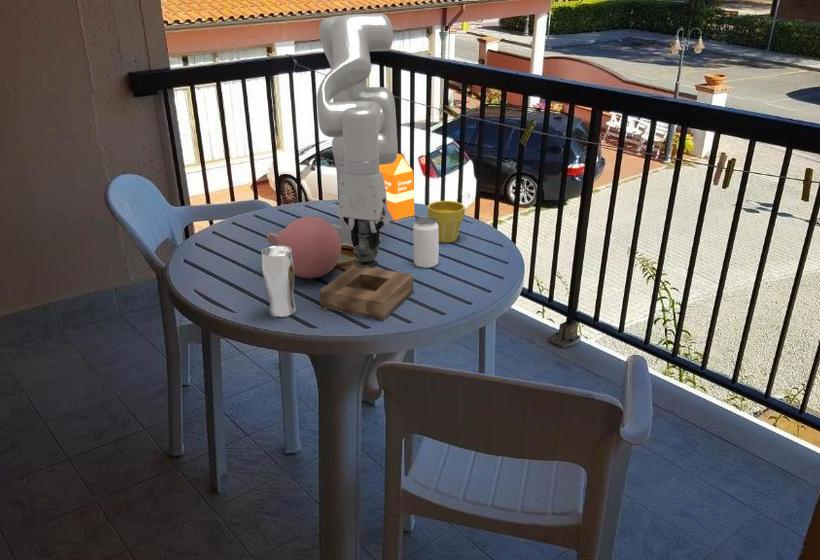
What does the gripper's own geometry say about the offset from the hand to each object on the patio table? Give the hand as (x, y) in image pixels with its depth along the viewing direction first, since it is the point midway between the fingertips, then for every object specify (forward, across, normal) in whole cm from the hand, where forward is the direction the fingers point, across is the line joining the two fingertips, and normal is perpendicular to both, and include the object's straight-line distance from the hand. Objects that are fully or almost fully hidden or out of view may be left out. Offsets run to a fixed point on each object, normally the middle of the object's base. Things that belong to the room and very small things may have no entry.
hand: (365, 245), depth 155 cm
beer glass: (+14, -15, -13) cm, 24 cm away
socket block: (+14, 0, 0) cm, 14 cm away
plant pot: (+14, +2, +44) cm, 46 cm away
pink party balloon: (+14, -22, +7) cm, 27 cm away
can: (+14, +4, +25) cm, 29 cm away
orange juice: (+13, -20, +57) cm, 62 cm away
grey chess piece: (+5, 0, 0) cm, 5 cm away
